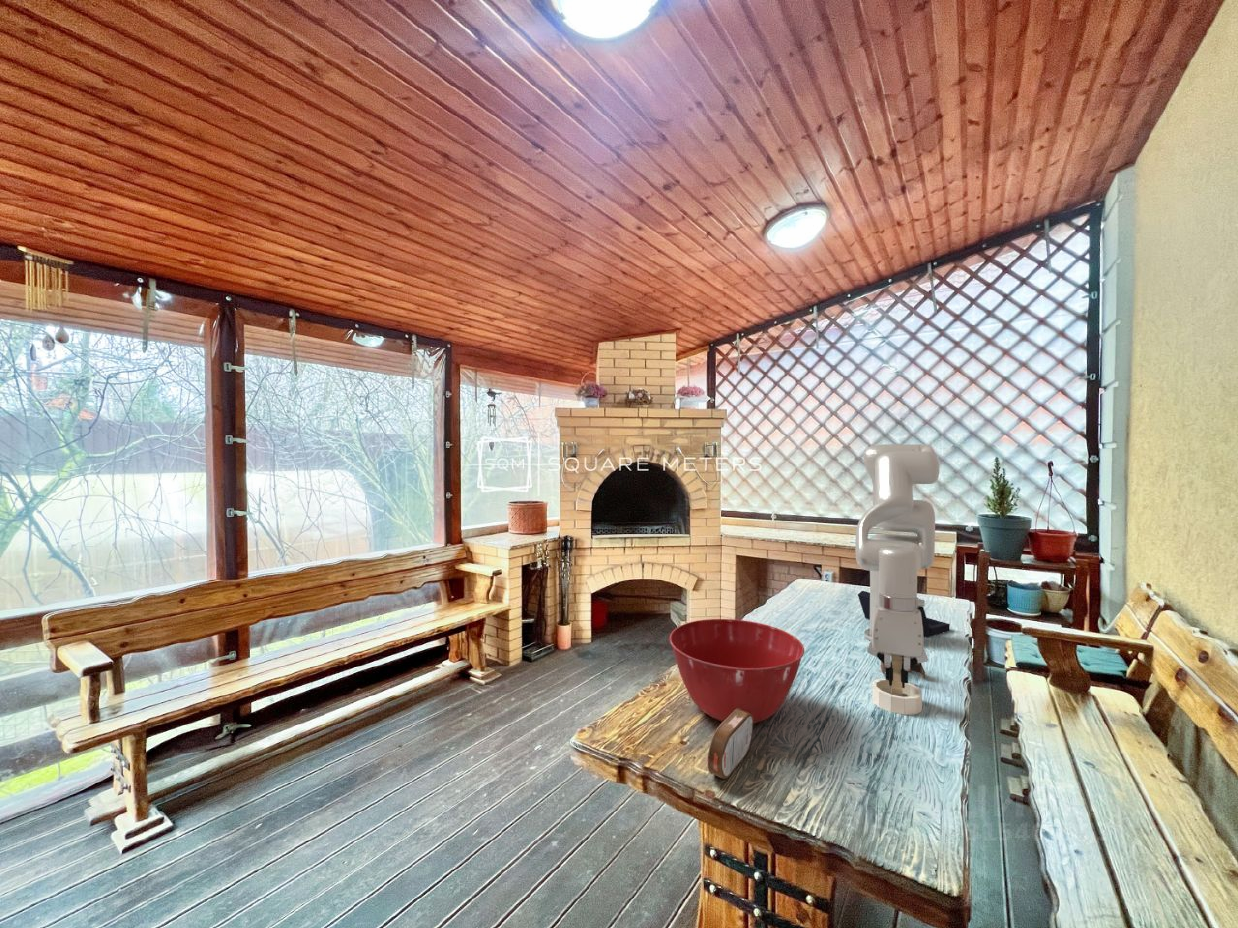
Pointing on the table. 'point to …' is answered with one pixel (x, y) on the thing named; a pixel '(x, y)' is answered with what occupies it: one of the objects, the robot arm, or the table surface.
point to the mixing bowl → (736, 665)
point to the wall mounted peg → (896, 676)
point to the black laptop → (928, 624)
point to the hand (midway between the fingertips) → (896, 683)
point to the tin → (730, 743)
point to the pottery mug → (915, 668)
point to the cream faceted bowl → (897, 698)
